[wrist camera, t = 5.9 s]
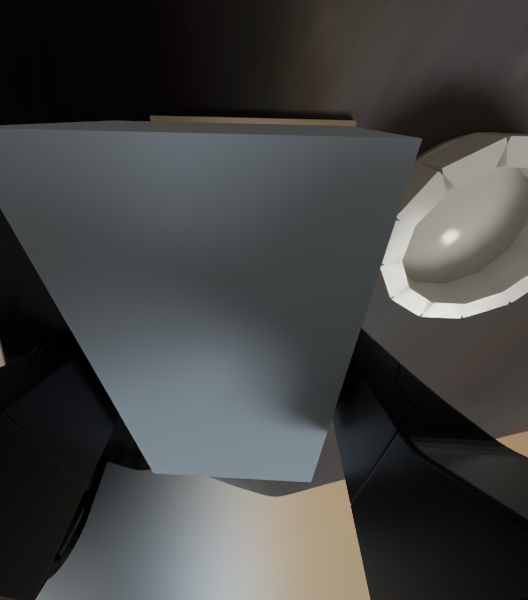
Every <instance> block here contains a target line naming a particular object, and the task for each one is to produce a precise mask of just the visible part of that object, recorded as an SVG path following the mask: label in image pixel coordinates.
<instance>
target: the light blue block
mask: <svg viewBox="0 0 528 600" xmlns="http://www.w3.org/2000/svg"><path fill="white" fill-rule="evenodd" d="M421 141H422V138H417V137H411V136H405V135H399V134H393V133H388V132H382V131H376V130H370V129H364V128H359V127H353V126H332V125H287V124H243V123H198V122H154V121H92V122H69V123H46V124H23V125H0V208H1V210H2V212H3V214H4V215H5V217H6V219H7V221H8V222H9V224H10V226H11V227H12V229H13V231H14V233H15V234H16V236H17V238H18V240H19V241H20V243H21V245H22V246H23V248H24V250H25V252H26V253H27V255H28V257H29V259H30V260H31V262H32V264H33V265H34V267H35V269H36V271H37V272H38V274H39V276H40V278H41V279H42V281H43V283H44V284H45V286H46V288H47V290H48V291H49V293H50V295H51V297H52V298H53V300H54V302H55V303H56V305H57V307H58V309H59V310H60V312H61V314H62V316H63V317H64V319H65V321H66V322H67V324H68V326H69V328H70V329H71V331H72V333H73V335H74V336H75V338H76V340H77V341H78V343H79V345H80V347H81V348H82V350H83V352H84V354H85V355H86V357H87V359H88V360H89V362H90V364H91V366H92V367H93V369H94V371H95V373H96V374H97V376H98V378H99V379H100V381H101V383H102V385H103V386H104V388H105V390H106V392H107V393H108V395H109V397H110V398H111V400H112V402H113V404H114V405H115V407H116V409H117V411H118V412H119V414H120V416H121V417H122V419H123V421H124V423H125V424H126V426H127V428H128V430H129V431H130V433H131V435H132V436H133V438H134V440H135V442H136V443H137V445H138V447H139V449H140V450H141V452H142V454H143V455H144V457H145V459H146V461H147V462H148V464H149V466H150V468H151V469H152V471H153V473H157V474H174V475H193V476H209V477H227V478H245V479H262V480H280V481H298V482H311V481H312V478H313V474H314V471H315V468H316V465H317V462H318V459H319V456H320V453H321V450H322V447H323V444H324V441H325V437H326V434H327V431H328V428H329V425H330V422H331V419H332V416H333V413H334V410H335V407H336V403H337V400H338V397H339V394H340V391H341V388H342V385H343V382H344V379H345V376H346V373H347V370H348V366H349V363H350V360H351V357H352V354H353V351H354V348H355V345H356V342H357V339H358V336H359V332H360V329H361V326H362V323H363V320H364V317H365V314H366V311H367V308H368V305H369V302H370V299H371V295H372V292H373V289H374V286H375V283H376V280H377V277H378V274H379V271H380V268H381V265H382V261H383V258H384V255H385V252H386V249H387V246H388V243H389V240H390V237H391V234H392V231H393V228H394V224H395V221H396V218H397V215H398V212H399V209H400V206H401V203H402V200H403V197H404V194H405V190H406V187H407V184H408V181H409V178H410V175H411V172H412V169H413V166H414V163H415V160H416V156H417V153H418V150H419V147H420V144H421Z"/></svg>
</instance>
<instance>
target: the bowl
mask: <svg viewBox="0 0 528 600" xmlns="http://www.w3.org/2000/svg"><path fill="white" fill-rule="evenodd" d="M378 279H379V280H380V282H381V284H382V285H383V287H384V289H385V290H386V292H387V294H388V295H389V297H390V298H391V300H393V301H395V302H396V303H398V304H400V305H401V306H403V307H404V308H406V309H408V310H409V311H411V312H413V313H414V314H416V315H418V316H421V317H434V318H457V319H460V318H461V316H462V318H465V317H469V316H472V315H475V314H478V313H482V312H485V311H488V310H491V309H495V308H498V307H501V306H505V305H508V301H510V302H511V303H512V302H514V301H515V300H517V299H518V298H520V297H521V296H523V295H524V294H526V293H527V292H528V134H522V133H496V132H476V133H471V134H466V135H461V136H458V137H455V138H452V139H449V140H447V141H444V142H442V143H440V144H438V145H436V146H434V147H432V148H430V149H429V150H427V151H425V152H424V153H422V154H421V155H419V156H418V157H417V158H416V160H415V163H414V166H413V169H412V172H411V175H410V178H409V181H408V184H407V187H406V190H405V194H404V197H403V200H402V203H401V206H400V209H399V212H398V215H397V218H396V221H395V224H394V228H393V231H392V234H391V237H390V240H389V243H388V246H387V249H386V252H385V255H384V258H383V261H382V265H381V268H380V271H379V274H378Z"/></svg>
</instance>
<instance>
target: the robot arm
mask: <svg viewBox="0 0 528 600" xmlns="http://www.w3.org/2000/svg"><path fill="white" fill-rule="evenodd" d="M118 416H119V412H118V411H117V409H116V407H115V405H114V404H113V402H112V400H111V398H110V397H109V395H108V393H107V392H106V390H105V388H104V386H103V385H102V383H101V381H100V379H99V378H98V376H97V374H96V373H95V371H94V369H93V367H92V366H91V364H90V362H89V360H88V359H87V357H86V355H85V354H84V352H83V350H82V348H81V347H80V345H79V343H78V341H77V340H76V338H75V336H74V335H73V333H72V331H70V332H68V333H66V334H64V335H62V336H60V337H58V338H57V339H55V340H53V341H51V342H49V343H47V344H39V345H38V346H37V347H36V348H34V351H32V352H30V353H28V354H26V355H24V356H22V357H20V358H18V359H16V360H14V361H12V362H10V363H8V364H6V365H4V366H2V367H0V600H35V599H36V598H37V596H38V594H39V593H40V591H41V589H42V588H43V586H44V584H45V583H46V581H47V580H48V579H49V578H51V577H52V576H53V575H54V574H55V573H56V572H57V571H58V569H59V568H60V567H61V566H62V565H63V563H64V562H65V560H66V559H67V558H68V556H69V554H70V553H71V551H72V550H73V548H74V546H75V544H76V542H77V541H78V539H79V537H80V535H81V533H82V530H83V528H84V526H85V523H86V521H87V518H88V515H89V513H90V510H91V506H92V504H93V501H94V498H95V495H96V493H97V490H98V487H99V484H100V481H101V478H102V475H103V473H104V470H105V467H106V464H107V461H108V458H109V457H108V456H106V455H103V454H101V453H102V451H103V449H104V447H105V445H106V443H107V440H108V438H109V436H110V434H111V432H112V429H113V427H114V425H115V423H116V421H117V418H118ZM332 419H333V424H334V428H335V433H336V438H337V442H338V447H339V452H340V457H341V461H342V466H343V471H344V475H345V480H346V485H347V490H348V494H349V499H350V503H351V509H352V514H353V518H354V523H355V528H356V533H357V537H358V542H359V547H360V552H361V556H362V560H363V566H364V571H365V575H366V580H367V585H368V589H369V594H370V599H371V600H528V457H526V456H523V455H521V454H519V453H517V452H515V451H513V450H512V449H510V448H508V447H506V446H505V445H503V444H501V443H500V442H498V441H497V440H496V439H494V438H493V437H491V436H490V435H489V434H487V433H486V432H485V431H484V430H482V429H481V428H480V427H478V426H477V425H476V424H474V423H473V422H472V421H471V420H469V419H468V418H467V417H465V416H464V415H463V414H462V413H460V412H459V411H458V410H456V409H455V408H454V407H453V406H451V405H450V404H449V403H447V402H446V401H445V400H444V399H442V398H441V397H440V396H439V395H437V394H436V393H435V392H434V391H432V390H431V389H430V388H429V387H427V386H426V385H425V384H424V383H423V382H421V381H420V380H419V379H418V378H417V377H416V376H415V375H413V374H412V373H411V372H410V371H409V370H408V369H407V368H406V367H404V366H403V365H402V364H400V362H399V361H398V360H397V359H395V358H394V357H393V356H392V355H391V354H390V353H389V352H388V351H387V350H386V349H384V348H383V347H382V346H381V345H380V344H379V343H378V342H377V341H376V340H375V339H373V338H372V337H371V336H370V335H369V334H368V333H367V332H366V331H365V330H363V329H362V328H361V329H360V332H359V336H358V339H357V342H356V345H355V348H354V351H353V354H352V357H351V360H350V363H349V366H348V370H347V373H346V376H345V379H344V382H343V385H342V388H341V391H340V394H339V397H338V400H337V403H336V407H335V410H334V413H333V416H332Z"/></svg>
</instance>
